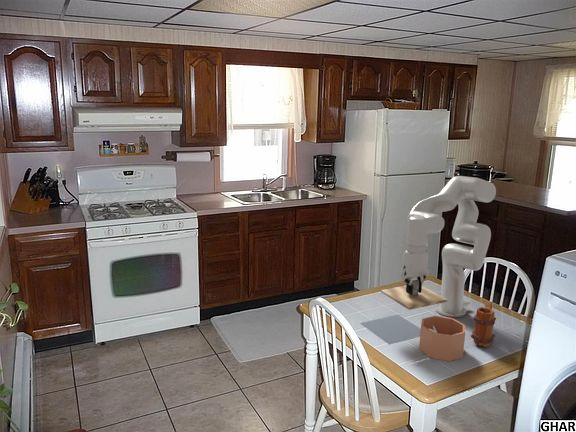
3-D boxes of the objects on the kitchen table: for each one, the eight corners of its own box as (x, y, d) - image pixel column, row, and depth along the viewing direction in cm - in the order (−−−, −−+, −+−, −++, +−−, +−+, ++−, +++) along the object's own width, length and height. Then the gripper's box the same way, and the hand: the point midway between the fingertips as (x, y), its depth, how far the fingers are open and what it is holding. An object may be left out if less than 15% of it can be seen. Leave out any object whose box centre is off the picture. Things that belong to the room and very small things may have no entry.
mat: (397, 315, 208) (397, 314, 207) (429, 334, 190) (429, 333, 190) (360, 324, 199) (360, 323, 199) (389, 345, 182) (389, 344, 182)
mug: (491, 351, 177) (495, 315, 174) (468, 346, 181) (472, 310, 178) (497, 336, 189) (501, 301, 186) (476, 330, 193) (479, 297, 190)
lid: (416, 285, 196) (418, 269, 195) (447, 301, 180) (448, 284, 179) (381, 292, 189) (381, 276, 188) (409, 309, 173) (410, 292, 172)
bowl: (441, 336, 189) (443, 313, 186) (472, 354, 175) (474, 330, 173) (411, 344, 182) (412, 320, 180) (439, 364, 168) (442, 338, 166)
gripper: (427, 242, 186) (424, 286, 191) (392, 247, 180) (390, 292, 184) (440, 248, 180) (436, 292, 184) (405, 253, 173) (402, 299, 178)
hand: (413, 292), depth 184 cm, fingers closed on lid, 3 cm apart
